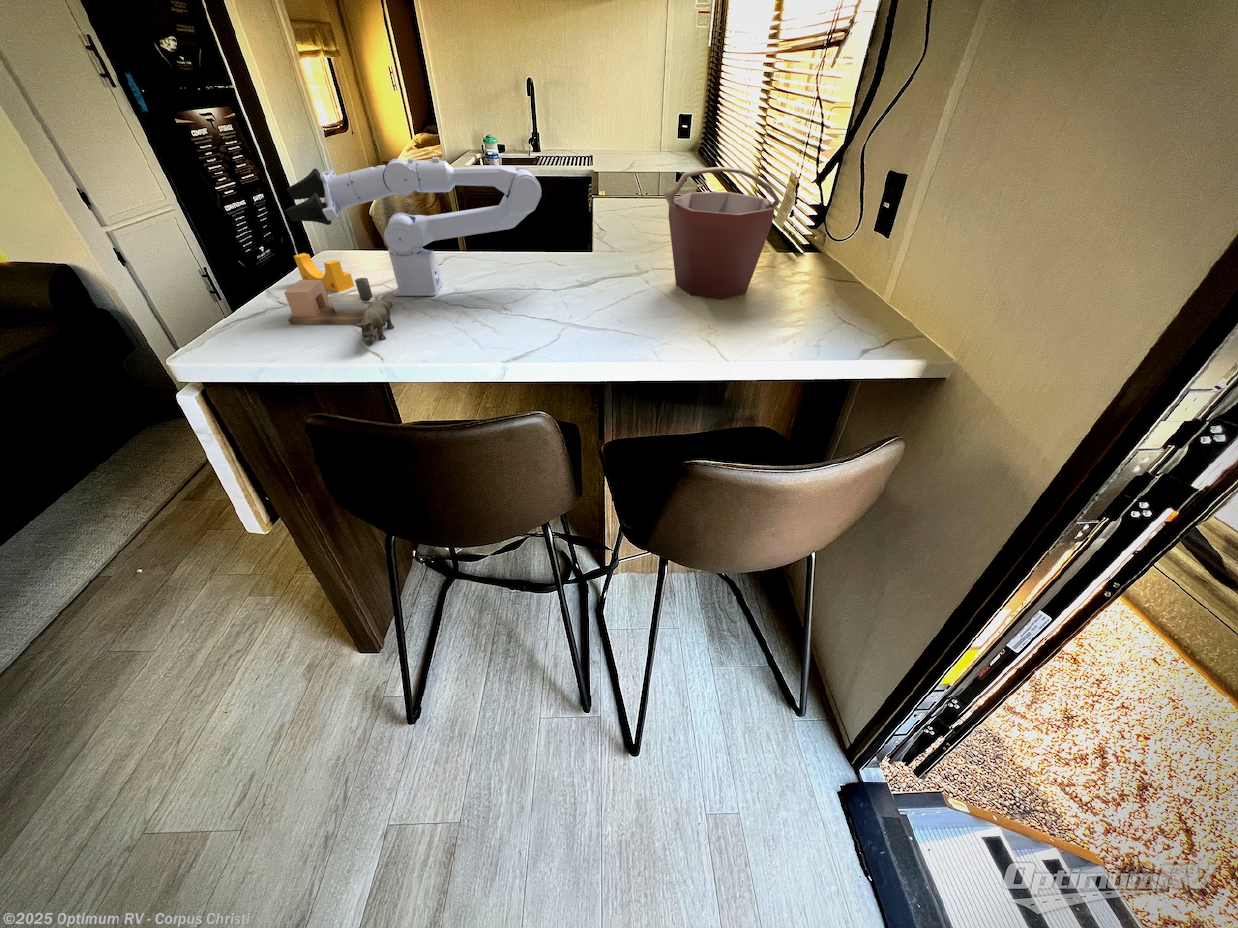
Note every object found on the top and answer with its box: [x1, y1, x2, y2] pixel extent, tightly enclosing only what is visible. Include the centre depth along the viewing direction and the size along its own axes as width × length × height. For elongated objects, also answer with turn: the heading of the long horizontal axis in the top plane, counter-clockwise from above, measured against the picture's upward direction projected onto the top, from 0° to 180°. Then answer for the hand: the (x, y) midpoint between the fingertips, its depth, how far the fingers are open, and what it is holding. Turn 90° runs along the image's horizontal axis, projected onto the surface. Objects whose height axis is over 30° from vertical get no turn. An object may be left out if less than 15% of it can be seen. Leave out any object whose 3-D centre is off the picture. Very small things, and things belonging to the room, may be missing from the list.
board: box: [287, 300, 394, 325], centre depth 107 cm, size 18×10×1 cm, turn 92°
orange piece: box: [293, 252, 355, 293], centre depth 119 cm, size 12×4×6 cm, turn 63°
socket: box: [283, 279, 329, 317], centre depth 105 cm, size 4×7×5 cm, turn 2°
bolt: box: [328, 277, 376, 309], centre depth 105 cm, size 9×2×6 cm, turn 92°
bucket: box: [663, 166, 780, 301], centre depth 116 cm, size 24×22×25 cm
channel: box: [333, 294, 387, 314], centre depth 106 cm, size 9×5×2 cm, turn 92°
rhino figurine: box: [353, 299, 395, 347], centre depth 97 cm, size 4×14×6 cm, turn 4°
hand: (289, 204), depth 103 cm, fingers open, 7 cm apart
